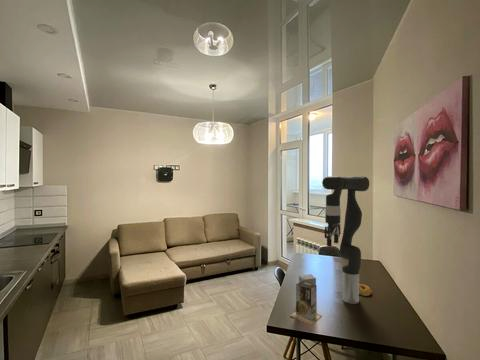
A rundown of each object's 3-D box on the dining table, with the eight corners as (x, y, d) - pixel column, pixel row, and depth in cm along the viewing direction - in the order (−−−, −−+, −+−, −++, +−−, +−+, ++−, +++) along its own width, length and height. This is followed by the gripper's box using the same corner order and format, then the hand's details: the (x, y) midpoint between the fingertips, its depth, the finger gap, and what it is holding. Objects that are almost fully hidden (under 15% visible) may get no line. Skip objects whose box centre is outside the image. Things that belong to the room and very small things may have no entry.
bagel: (357, 296, 161) (357, 288, 161) (352, 288, 172) (352, 281, 172) (374, 297, 159) (374, 289, 159) (367, 289, 170) (367, 282, 170)
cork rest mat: (301, 308, 145) (301, 307, 145) (321, 316, 137) (321, 314, 137) (290, 316, 136) (290, 315, 136) (310, 325, 128) (310, 324, 128)
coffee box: (317, 315, 136) (317, 285, 136) (311, 320, 131) (311, 288, 131) (301, 309, 142) (301, 280, 142) (295, 314, 137) (295, 283, 137)
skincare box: (311, 299, 156) (311, 273, 156) (316, 305, 149) (317, 277, 149) (298, 300, 154) (298, 274, 154) (303, 306, 147) (303, 278, 147)
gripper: (331, 212, 144) (331, 241, 144) (319, 214, 134) (319, 245, 134) (345, 213, 139) (345, 243, 139) (334, 216, 129) (333, 248, 129)
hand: (332, 244), depth 137 cm, fingers open, 8 cm apart
